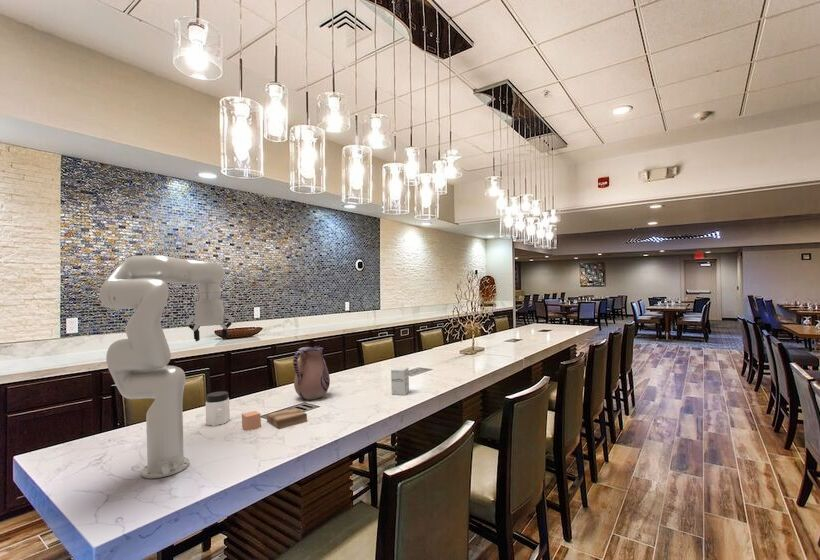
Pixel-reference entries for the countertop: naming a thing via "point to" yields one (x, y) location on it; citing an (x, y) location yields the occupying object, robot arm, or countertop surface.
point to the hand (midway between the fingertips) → (211, 340)
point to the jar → (217, 408)
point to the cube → (251, 420)
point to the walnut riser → (286, 418)
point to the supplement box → (400, 381)
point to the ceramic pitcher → (310, 373)
